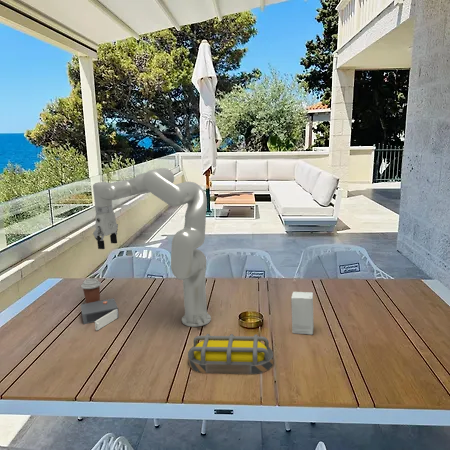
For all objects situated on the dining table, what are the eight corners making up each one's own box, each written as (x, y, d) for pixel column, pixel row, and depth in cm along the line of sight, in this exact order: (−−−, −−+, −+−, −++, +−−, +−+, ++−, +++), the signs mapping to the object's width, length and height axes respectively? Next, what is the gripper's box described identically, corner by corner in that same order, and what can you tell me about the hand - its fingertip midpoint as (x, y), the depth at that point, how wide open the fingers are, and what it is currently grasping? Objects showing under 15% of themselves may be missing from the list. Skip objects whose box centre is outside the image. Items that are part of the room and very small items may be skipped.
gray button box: (118, 317, 179) (117, 306, 178) (83, 324, 173) (82, 313, 172) (114, 305, 192) (113, 295, 191) (81, 312, 186) (80, 302, 185)
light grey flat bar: (120, 317, 178) (119, 309, 177) (98, 330, 166) (97, 322, 166) (116, 316, 179) (116, 308, 178) (95, 330, 167) (94, 321, 166)
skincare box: (313, 327, 162) (314, 292, 159) (312, 335, 156) (313, 298, 152) (293, 326, 164) (292, 290, 161) (291, 333, 158) (291, 297, 155)
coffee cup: (79, 307, 192) (76, 283, 189) (90, 299, 200) (87, 277, 198) (96, 308, 189) (93, 284, 187) (106, 300, 198) (103, 277, 195)
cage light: (273, 353, 130) (183, 352, 133) (273, 375, 132) (184, 373, 135) (272, 331, 144) (191, 331, 148) (272, 351, 146) (192, 350, 149)
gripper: (99, 213, 171) (103, 251, 175) (122, 206, 187) (125, 241, 191) (84, 213, 174) (89, 250, 178) (108, 206, 190) (111, 240, 193)
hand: (107, 245), depth 184 cm, fingers open, 9 cm apart
